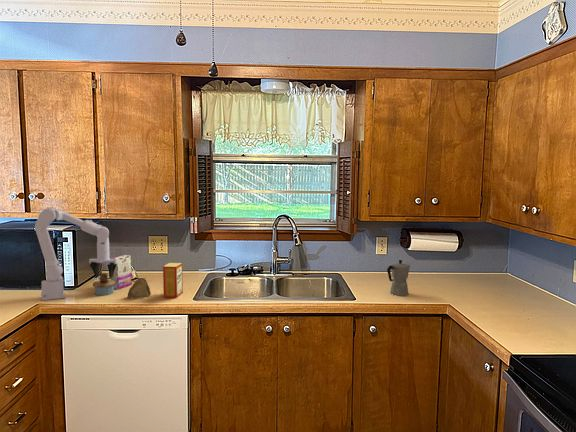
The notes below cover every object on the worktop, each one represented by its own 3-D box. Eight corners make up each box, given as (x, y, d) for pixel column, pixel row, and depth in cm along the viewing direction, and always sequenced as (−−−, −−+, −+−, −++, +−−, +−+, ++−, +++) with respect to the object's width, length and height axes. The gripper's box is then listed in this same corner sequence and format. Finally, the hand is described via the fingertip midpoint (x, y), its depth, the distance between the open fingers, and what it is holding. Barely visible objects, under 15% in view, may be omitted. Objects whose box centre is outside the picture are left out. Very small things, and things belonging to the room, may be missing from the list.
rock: (122, 295, 201) (141, 293, 200) (125, 278, 206) (144, 276, 205) (132, 303, 210) (151, 301, 209) (135, 287, 215) (153, 285, 214)
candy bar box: (124, 283, 232) (124, 254, 230) (132, 284, 230) (131, 255, 228) (110, 288, 221) (109, 258, 220) (118, 289, 219) (117, 259, 218)
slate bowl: (95, 296, 207) (95, 287, 206) (94, 292, 214) (94, 283, 214) (114, 294, 211) (114, 285, 210) (112, 290, 218) (112, 282, 218)
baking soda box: (170, 292, 215) (169, 262, 214) (182, 292, 215) (182, 262, 213) (163, 297, 206) (163, 265, 204) (176, 298, 206) (176, 266, 204)
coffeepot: (402, 290, 225) (403, 257, 223) (415, 294, 217) (416, 260, 215) (380, 293, 217) (381, 259, 216) (393, 298, 209) (394, 263, 208)
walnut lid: (93, 288, 205) (92, 277, 205) (92, 283, 214) (92, 272, 214) (116, 286, 210) (115, 275, 209) (114, 281, 219) (113, 271, 218)
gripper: (85, 251, 208) (85, 278, 209) (112, 252, 206) (113, 279, 207) (93, 249, 215) (94, 275, 216) (119, 250, 213) (120, 276, 214)
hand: (103, 277), depth 212 cm, fingers open, 7 cm apart
